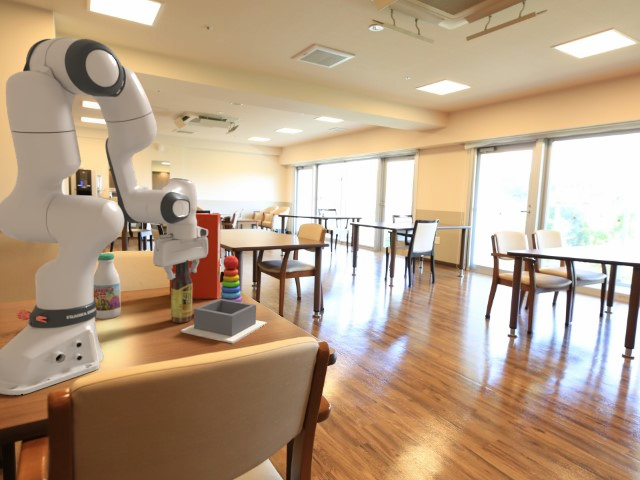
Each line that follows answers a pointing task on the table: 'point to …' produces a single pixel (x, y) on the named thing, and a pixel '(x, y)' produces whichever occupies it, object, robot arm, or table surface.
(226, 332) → the mount collar
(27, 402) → the table surface
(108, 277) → the milk bottle
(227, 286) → the stacking toy
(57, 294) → the robot arm
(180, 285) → the sauce bottle
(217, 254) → the tall red box
